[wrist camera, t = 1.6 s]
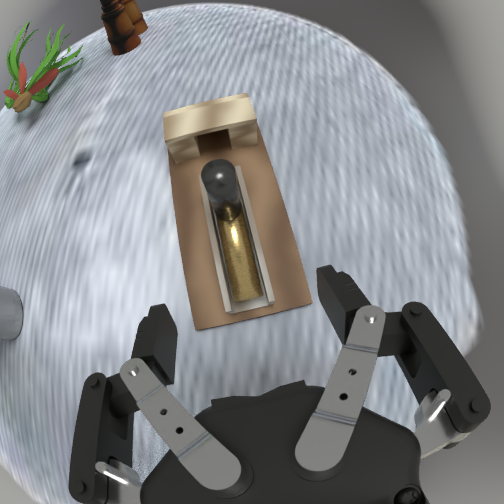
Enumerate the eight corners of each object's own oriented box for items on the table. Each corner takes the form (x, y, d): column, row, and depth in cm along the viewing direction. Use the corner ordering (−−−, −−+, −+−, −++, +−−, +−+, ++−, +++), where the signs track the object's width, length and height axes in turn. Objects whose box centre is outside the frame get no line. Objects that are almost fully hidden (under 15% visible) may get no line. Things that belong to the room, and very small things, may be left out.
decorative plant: (26, 151, 49) (38, 92, 56) (89, 90, 46) (92, 43, 53) (-40, 114, 24) (-8, 57, 31) (22, 31, 21) (48, -2, 27)
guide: (197, 330, 31) (182, 330, 25) (168, 140, 39) (156, 113, 33) (311, 303, 32) (322, 297, 26) (254, 119, 40) (253, 89, 33)
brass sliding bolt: (235, 303, 30) (222, 291, 20) (209, 181, 35) (192, 128, 24) (263, 296, 30) (264, 281, 20) (233, 175, 35) (223, 121, 24)
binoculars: (137, 49, 49) (115, -10, 30) (109, 59, 49) (83, 4, 30) (150, 23, 54) (134, -26, 35) (125, 30, 54) (107, -16, 35)
